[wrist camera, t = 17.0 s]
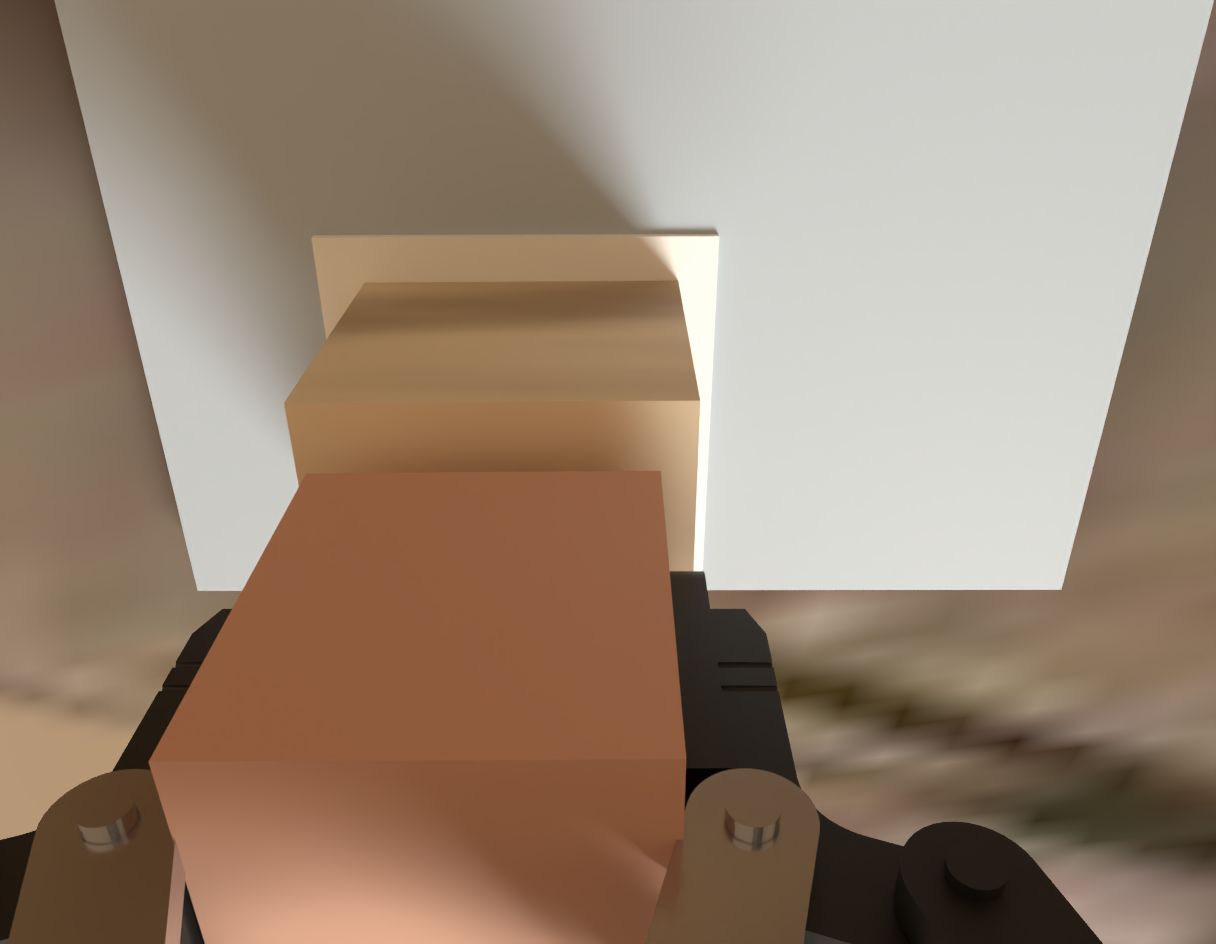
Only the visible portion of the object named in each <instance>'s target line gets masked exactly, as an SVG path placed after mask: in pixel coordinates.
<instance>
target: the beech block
mask: <svg viewBox="0 0 1216 944" xmlns="http://www.w3.org/2000/svg"><path fill="white" fill-rule="evenodd" d="M284 406H285V412H286V417H287V423H288V429H289V434H290V440H291V445H292V451H293V457H294V462H295V468H296V474H297V479H298V485H299V486H300V484H301V482H302V480H303V478H304V477H305V475H306V473H424V472H552V471H661V480H662V491H663V503H664V514H665V525H666V536H667V547H668V559H669V570H670V571H694V546H695V521H696V496H697V471H698V446H699V421H700V396H699V391H698V385H697V380H696V374H695V369H694V363H693V358H692V353H691V347H690V342H689V336H688V331H687V325H686V320H685V315H684V309H683V304H682V298H681V293H680V287H679V282H678V281H539V282H382V283H364V284H363V286H362V287H361V289H360V290H359V292H358V293H357V295H356V296H355V298H354V299H353V301H352V302H351V304H350V305H349V307H348V308H347V310H346V311H345V313H344V314H343V316H342V317H341V319H340V320H339V322H338V323H337V325H336V326H335V328H334V329H333V331H332V332H331V334H330V335H329V337H328V338H327V339H326V341H325V342H324V344H323V345H322V347H321V348H320V350H319V351H318V353H317V354H316V356H315V357H314V359H313V360H312V362H311V363H310V365H309V366H308V368H307V369H306V371H305V372H304V374H303V375H302V377H301V378H300V380H299V381H298V383H297V384H296V386H295V387H294V389H293V390H292V392H291V393H290V395H289V396H288V398H287V399H286V401H285V402H284Z"/></svg>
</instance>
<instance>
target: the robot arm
mask: <svg viewBox="0 0 1216 944" xmlns="http://www.w3.org/2000/svg"><path fill="white" fill-rule="evenodd" d="M670 581H671V592H672V604H673V615H674V626H675V637H676V648H677V660H678V671H679V682H680V693H681V705H682V716H683V727H684V738H685V749H686V782H685V810H684V837H683V840H676V841H675V845H674V848H673V851H672V855H671V858H670V861H669V865H668V868H667V871H666V874H665V878H664V881H663V884H662V888H661V891H660V894H659V898H658V901H657V904H656V907H655V911H654V914H653V917H652V921H651V924H650V927H649V931H648V934H647V937H646V940H645V944H1103V943H1102V942H1101V941H1100V940H1099V938H1098V937H1097V936H1096V935H1095V934H1094V932H1093V931H1092V930H1091V929H1090V927H1089V926H1088V925H1087V924H1086V923H1085V921H1084V920H1083V919H1082V918H1081V917H1080V915H1079V914H1078V913H1077V912H1076V911H1075V909H1074V908H1073V907H1072V906H1071V904H1070V903H1069V902H1068V901H1067V900H1066V898H1065V897H1064V896H1063V895H1062V894H1061V892H1060V891H1059V890H1058V889H1057V888H1056V886H1055V885H1054V884H1053V883H1052V881H1051V880H1050V879H1049V878H1048V877H1047V875H1046V874H1045V873H1044V872H1043V871H1042V869H1041V868H1040V867H1039V866H1038V865H1037V863H1036V862H1035V861H1034V860H1033V859H1032V858H1031V857H1030V856H1029V854H1028V853H1027V852H1026V851H1025V850H1023V849H1022V848H1021V847H1020V846H1018V845H1017V844H1016V843H1015V842H1013V841H1012V840H1010V839H1008V838H1007V837H1005V836H1004V835H1002V834H999V833H997V832H995V831H993V830H991V829H988V828H985V827H982V826H979V825H975V824H970V823H964V822H942V823H936V824H932V825H929V826H927V827H924V828H922V829H921V830H919V831H917V832H916V833H914V834H913V835H912V836H911V837H910V838H909V839H908V841H907V842H906V844H905V846H900V845H896V844H893V843H889V842H885V841H881V840H878V839H874V838H870V837H867V836H863V835H860V834H857V833H854V832H851V831H849V830H847V829H845V828H843V827H841V826H839V825H837V824H835V823H834V822H832V821H830V820H829V819H828V818H826V817H825V816H824V815H822V814H821V813H820V812H819V811H818V810H817V809H816V808H815V806H814V804H813V802H812V801H811V799H810V798H809V797H808V796H807V794H806V793H805V792H804V791H803V790H802V789H801V787H800V785H799V782H798V779H797V775H796V771H795V766H794V761H793V757H792V752H791V747H790V743H789V738H788V733H787V729H786V724H785V720H784V715H783V710H782V706H781V701H780V696H779V692H778V691H777V682H776V678H775V673H774V668H772V659H771V654H770V650H769V645H768V640H767V636H766V633H765V632H764V631H763V630H762V628H761V627H760V626H759V625H758V624H757V623H756V621H755V620H754V619H753V618H752V617H751V616H750V614H749V613H748V612H747V611H746V610H745V609H710V606H709V599H708V591H707V584H706V577H705V573H704V571H670ZM231 610H232V609H222V610H221V611H220V612H218V613H217V614H216V615H215V616H213V617H212V618H211V619H210V620H209V621H207V622H206V623H205V624H204V625H202V626H201V627H200V628H199V629H198V630H196V631H195V632H194V633H193V634H192V635H191V637H190V639H189V640H188V642H187V644H186V645H185V647H184V649H183V651H182V652H181V654H180V656H179V657H178V659H177V661H176V667H175V668H172V670H171V671H170V673H169V675H168V676H167V678H166V680H165V682H164V683H163V685H162V686H163V689H162V691H159V692H158V694H157V695H156V697H155V699H154V700H153V702H152V704H151V706H150V707H149V709H148V711H147V713H146V714H145V716H144V718H143V719H142V721H141V723H140V725H139V726H138V728H137V730H136V731H135V733H134V735H133V737H132V738H131V740H130V742H129V743H128V746H127V747H126V749H125V750H124V752H123V754H122V756H121V757H120V759H119V761H118V762H117V764H116V766H115V768H114V769H113V771H112V772H110V773H106V774H102V775H100V776H97V777H94V778H92V779H90V780H88V781H86V782H83V783H81V784H80V785H78V786H77V787H75V788H73V789H71V790H70V791H68V792H67V793H66V794H64V795H63V796H62V797H60V798H59V799H58V800H57V801H56V802H55V803H54V804H53V805H52V806H51V807H50V808H49V809H48V811H47V812H46V813H45V814H44V816H43V817H42V819H41V821H40V822H39V824H38V827H37V830H36V831H33V832H29V833H26V834H23V835H19V836H15V837H11V838H7V839H3V840H0V944H205V942H204V939H203V936H202V933H201V930H200V926H199V923H198V920H197V917H196V913H195V910H194V907H193V904H192V901H191V897H190V894H189V891H188V888H187V885H186V881H185V878H186V874H185V870H184V867H183V864H182V860H181V857H180V854H179V850H178V847H177V844H176V840H173V839H172V836H171V833H170V830H169V827H168V823H167V820H166V817H165V814H164V810H163V807H162V804H161V801H160V798H159V794H158V791H157V788H156V785H155V782H154V778H153V775H152V772H151V769H150V765H149V760H150V758H151V756H152V755H153V753H154V751H155V749H156V747H157V745H158V744H159V742H160V740H161V738H162V736H163V734H164V733H165V731H166V729H167V727H168V725H169V723H170V722H171V720H172V718H173V716H174V714H175V713H176V711H177V709H178V707H179V705H180V703H181V702H182V700H183V698H184V696H185V694H186V692H187V691H188V689H189V687H190V685H191V683H192V681H193V680H194V678H195V676H196V674H197V672H198V670H199V669H200V667H201V665H202V663H203V661H204V659H205V658H206V656H207V654H208V652H209V650H210V649H211V647H212V645H213V643H214V641H215V639H216V638H217V636H218V634H219V632H220V630H221V628H222V627H223V625H224V623H225V621H226V619H227V617H228V616H229V614H230V612H231Z"/></svg>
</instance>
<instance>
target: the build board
mask: <svg viewBox="0 0 1216 944" xmlns="http://www.w3.org/2000/svg"><path fill="white" fill-rule="evenodd" d="M54 1H55V5H56V9H57V13H58V17H59V21H60V26H61V30H62V34H63V38H64V42H65V46H66V50H67V54H68V59H69V63H70V67H71V71H72V75H73V79H74V83H75V87H76V91H77V96H78V100H79V104H80V108H81V112H82V116H83V120H84V124H85V128H86V133H87V137H88V141H89V145H90V149H91V153H92V157H93V161H94V166H95V170H96V174H97V178H98V182H99V186H100V190H101V194H102V198H103V203H104V207H105V211H106V215H107V219H108V223H109V227H110V231H111V235H112V240H113V244H114V248H115V252H116V256H117V260H118V264H119V268H120V273H121V277H122V281H123V285H124V289H125V293H126V297H127V301H128V305H129V310H130V314H131V318H132V322H133V326H134V330H135V334H136V338H137V342H138V347H139V351H140V355H141V359H142V363H143V367H144V371H145V375H146V380H147V384H148V388H149V392H150V396H151V400H152V404H153V408H154V412H155V417H156V421H157V425H158V429H159V433H160V437H161V441H162V445H163V449H164V454H165V458H166V462H167V466H168V470H169V474H170V478H171V482H172V487H173V491H174V495H175V499H176V503H177V507H178V511H179V515H180V519H181V524H182V528H183V532H184V536H185V540H186V544H187V548H188V552H189V556H190V561H191V565H192V569H193V573H194V577H195V581H196V585H197V589H198V591H242V590H243V588H244V586H245V585H246V583H247V581H248V579H249V577H250V575H251V574H252V572H253V570H254V568H255V566H256V564H257V563H258V561H259V559H260V557H261V555H262V553H263V552H264V550H265V548H266V546H267V544H268V542H269V541H270V539H271V537H272V535H273V533H274V531H275V530H276V528H277V526H278V524H279V522H280V520H281V519H282V517H283V515H284V513H285V511H286V510H287V508H288V506H289V504H290V502H291V500H292V499H293V497H294V495H295V493H296V491H297V489H298V488H299V485H298V479H297V474H296V468H295V462H294V457H293V451H292V445H291V440H290V434H289V429H288V423H287V417H286V412H285V406H284V402H285V401H286V399H287V398H288V396H289V395H290V393H291V392H292V390H293V389H294V387H295V386H296V384H297V383H298V381H299V380H300V378H301V377H302V375H303V374H304V372H305V371H306V369H307V368H308V366H309V365H310V363H311V362H312V360H313V359H314V357H315V356H316V354H317V353H318V351H319V350H320V348H321V347H322V345H323V344H324V342H325V341H326V339H327V338H328V337H329V335H330V334H331V332H332V331H333V329H334V328H335V326H336V325H337V323H338V322H339V320H340V319H341V317H342V316H343V314H344V313H345V311H346V310H347V308H348V307H349V305H350V304H351V302H352V301H353V299H354V298H355V296H356V295H357V293H358V292H359V290H360V289H361V287H362V286H363V284H364V283H382V282H539V281H678V282H679V287H680V293H681V298H682V304H683V309H684V315H685V320H686V325H687V331H688V336H689V342H690V347H691V353H692V358H693V363H694V369H695V374H696V380H697V385H698V391H699V396H700V421H699V446H698V471H697V496H696V521H695V546H694V571H704V573H705V577H706V584H707V590H1061V589H1062V585H1063V581H1064V577H1065V573H1066V569H1067V565H1068V562H1069V558H1070V554H1071V550H1072V546H1073V542H1074V538H1075V535H1076V531H1077V527H1078V523H1079V519H1080V515H1081V511H1082V508H1083V504H1084V500H1085V496H1086V492H1087V488H1088V484H1089V481H1090V477H1091V473H1092V469H1093V465H1094V461H1095V457H1096V453H1097V450H1098V446H1099V442H1100V438H1101V434H1102V430H1103V426H1104V423H1105V419H1106V415H1107V411H1108V407H1109V403H1110V399H1111V396H1112V392H1113V388H1114V384H1115V380H1116V376H1117V372H1118V369H1119V365H1120V361H1121V357H1122V353H1123V349H1124V345H1125V342H1126V338H1127V334H1128V330H1129V326H1130V322H1131V318H1132V314H1133V311H1134V307H1135V303H1136V299H1137V295H1138V291H1139V287H1140V284H1141V280H1142V276H1143V272H1144V268H1145V264H1146V260H1147V257H1148V253H1149V249H1150V245H1151V241H1152V237H1153V233H1154V230H1155V226H1156V222H1157V218H1158V214H1159V210H1160V206H1161V202H1162V199H1163V195H1164V191H1165V187H1166V183H1167V179H1168V175H1169V172H1170V168H1171V164H1172V160H1173V156H1174V152H1175V148H1176V145H1177V141H1178V137H1179V133H1180V129H1181V125H1182V121H1183V118H1184V114H1185V110H1186V106H1187V102H1188V98H1189V94H1190V91H1191V87H1192V83H1193V79H1194V75H1195V71H1196V67H1197V63H1198V60H1199V56H1200V52H1201V48H1202V44H1203V40H1204V36H1205V33H1206V29H1207V25H1208V21H1209V17H1210V13H1211V9H1212V6H1213V2H1214V0H54Z"/></svg>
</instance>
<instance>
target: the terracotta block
mask: <svg viewBox="0 0 1216 944" xmlns="http://www.w3.org/2000/svg"><path fill="white" fill-rule="evenodd" d="M149 765H150V769H151V772H152V775H153V778H154V782H155V785H156V788H157V791H158V794H159V798H160V801H161V804H162V807H163V810H164V814H165V817H166V820H167V823H168V827H169V830H170V833H171V836H172V839H173V840H176V844H177V847H178V850H179V854H180V857H181V860H182V864H183V867H184V870H185V874H186V878H185V881H186V885H187V888H188V891H189V894H190V897H191V901H192V904H193V907H194V910H195V913H196V917H197V920H198V923H199V926H200V930H201V933H202V936H203V939H204V942H205V944H645V940H646V937H647V934H648V931H649V927H650V924H651V921H652V917H653V914H654V911H655V907H656V904H657V901H658V898H659V894H660V891H661V888H662V884H663V881H664V878H665V874H666V871H667V868H668V865H669V861H670V858H671V855H672V851H673V848H674V845H675V841H676V840H683V837H684V810H685V782H686V749H685V738H684V727H683V716H682V705H681V693H680V682H679V671H678V660H677V648H676V637H675V626H674V615H673V604H672V592H671V581H670V570H669V559H668V547H667V536H666V525H665V514H664V503H663V491H662V480H661V471H552V472H424V473H306V475H305V477H304V478H303V480H302V482H301V484H300V486H299V488H298V489H297V491H296V493H295V495H294V497H293V499H292V500H291V502H290V504H289V506H288V508H287V510H286V511H285V513H284V515H283V517H282V519H281V520H280V522H279V524H278V526H277V528H276V530H275V531H274V533H273V535H272V537H271V539H270V541H269V542H268V544H267V546H266V548H265V550H264V552H263V553H262V555H261V557H260V559H259V561H258V563H257V564H256V566H255V568H254V570H253V572H252V574H251V575H250V577H249V579H248V581H247V583H246V585H245V586H244V588H243V590H242V592H241V594H240V595H239V597H238V599H237V601H236V603H235V605H234V606H233V608H232V610H231V612H230V614H229V616H228V617H227V619H226V621H225V623H224V625H223V627H222V628H221V630H220V632H219V634H218V636H217V638H216V639H215V641H214V643H213V645H212V647H211V649H210V650H209V652H208V654H207V656H206V658H205V659H204V661H203V663H202V665H201V667H200V669H199V670H198V672H197V674H196V676H195V678H194V680H193V681H192V683H191V685H190V687H189V689H188V691H187V692H186V694H185V696H184V698H183V700H182V702H181V703H180V705H179V707H178V709H177V711H176V713H175V714H174V716H173V718H172V720H171V722H170V723H169V725H168V727H167V729H166V731H165V733H164V734H163V736H162V738H161V740H160V742H159V744H158V745H157V747H156V749H155V751H154V753H153V755H152V756H151V758H150V760H149Z"/></svg>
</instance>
